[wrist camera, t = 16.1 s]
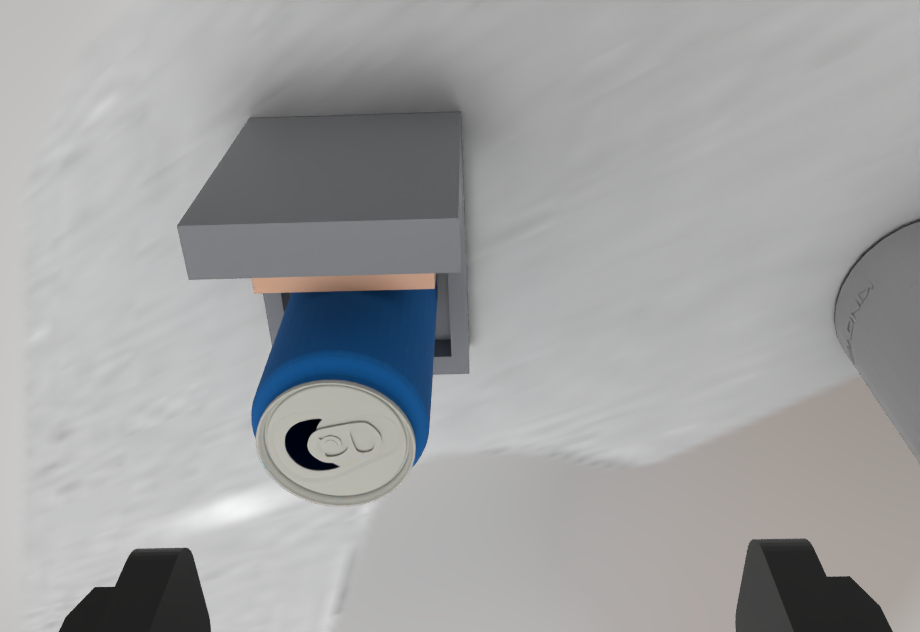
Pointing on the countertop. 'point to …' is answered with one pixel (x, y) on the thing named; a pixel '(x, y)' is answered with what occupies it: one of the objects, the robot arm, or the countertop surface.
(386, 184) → the grey bracket
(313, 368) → the beverage can
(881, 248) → the robot arm
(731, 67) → the countertop surface
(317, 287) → the thin tan plate
